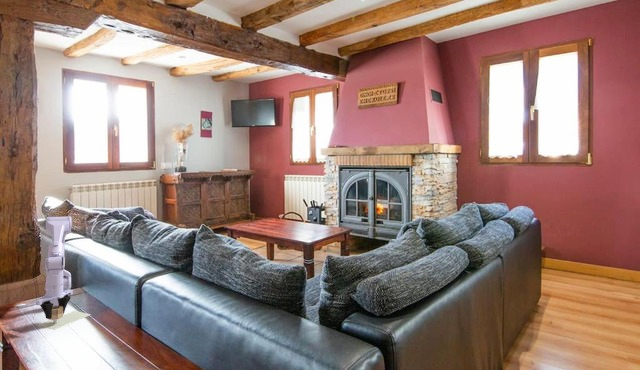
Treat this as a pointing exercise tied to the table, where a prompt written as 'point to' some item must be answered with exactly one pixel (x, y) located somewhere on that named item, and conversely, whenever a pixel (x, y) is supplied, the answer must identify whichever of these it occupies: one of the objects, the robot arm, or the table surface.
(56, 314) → the bead
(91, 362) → the table surface
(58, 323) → the board
